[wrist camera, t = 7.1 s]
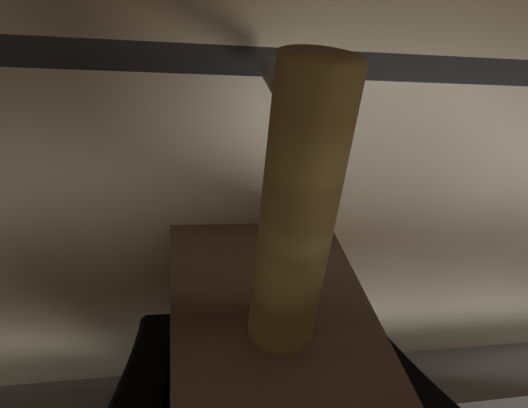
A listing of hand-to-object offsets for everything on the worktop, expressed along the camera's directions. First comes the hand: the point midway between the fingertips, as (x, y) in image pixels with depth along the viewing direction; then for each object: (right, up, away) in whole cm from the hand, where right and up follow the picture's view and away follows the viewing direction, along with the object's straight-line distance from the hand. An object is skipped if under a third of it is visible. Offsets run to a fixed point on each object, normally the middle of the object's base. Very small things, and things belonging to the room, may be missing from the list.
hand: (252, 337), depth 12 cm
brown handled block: (0, +3, 0) cm, 3 cm away
